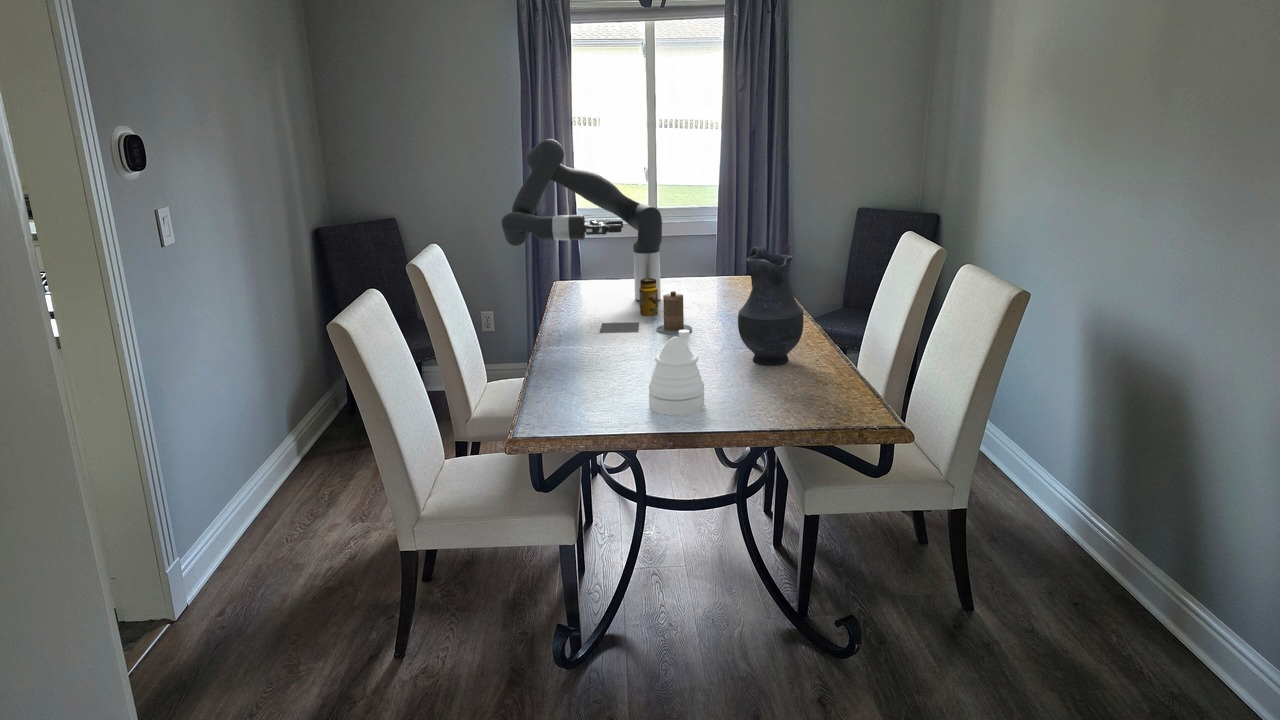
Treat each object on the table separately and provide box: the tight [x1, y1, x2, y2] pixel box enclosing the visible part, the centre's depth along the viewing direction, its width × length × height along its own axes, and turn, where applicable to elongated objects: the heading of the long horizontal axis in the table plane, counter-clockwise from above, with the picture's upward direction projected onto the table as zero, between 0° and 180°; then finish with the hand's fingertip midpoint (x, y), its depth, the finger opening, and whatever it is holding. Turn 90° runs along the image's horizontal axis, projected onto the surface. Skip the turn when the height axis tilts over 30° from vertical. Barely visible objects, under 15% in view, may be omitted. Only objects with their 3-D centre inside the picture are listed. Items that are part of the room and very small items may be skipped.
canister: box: [662, 291, 685, 331], centre depth 259 cm, size 6×6×12 cm
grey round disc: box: [655, 324, 693, 336], centre depth 260 cm, size 11×11×1 cm
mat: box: [598, 321, 640, 334], centre depth 265 cm, size 12×12×1 cm
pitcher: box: [737, 245, 805, 367], centre depth 225 cm, size 17×21×30 cm
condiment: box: [639, 278, 659, 317], centre depth 279 cm, size 7×8×12 cm
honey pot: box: [648, 330, 705, 416], centre depth 195 cm, size 13×13×18 cm
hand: (622, 226), depth 255 cm, fingers open, 8 cm apart
